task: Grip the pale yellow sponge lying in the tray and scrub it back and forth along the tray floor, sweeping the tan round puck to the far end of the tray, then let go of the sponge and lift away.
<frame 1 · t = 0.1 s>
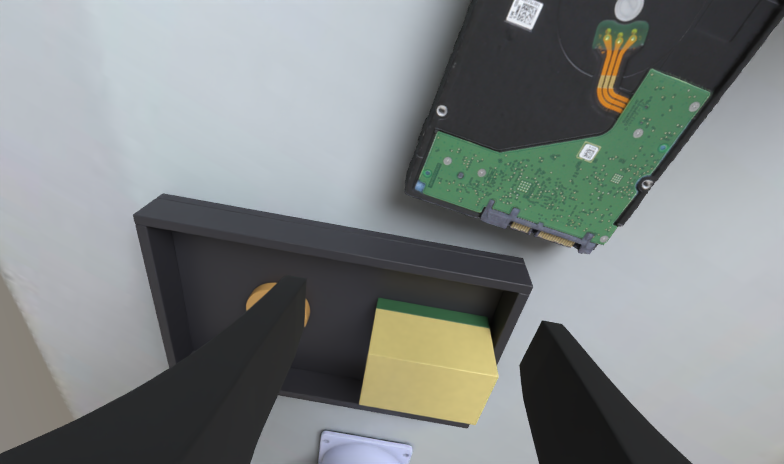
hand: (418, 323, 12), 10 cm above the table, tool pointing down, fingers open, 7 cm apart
tan round puck: (280, 305, 25), point 1 cm above the table, touching tray
tray: (334, 308, 25), on the table
sponge: (425, 331, 25), point 1 cm above the table, touching tray
disk drive: (568, 61, 17), on the table
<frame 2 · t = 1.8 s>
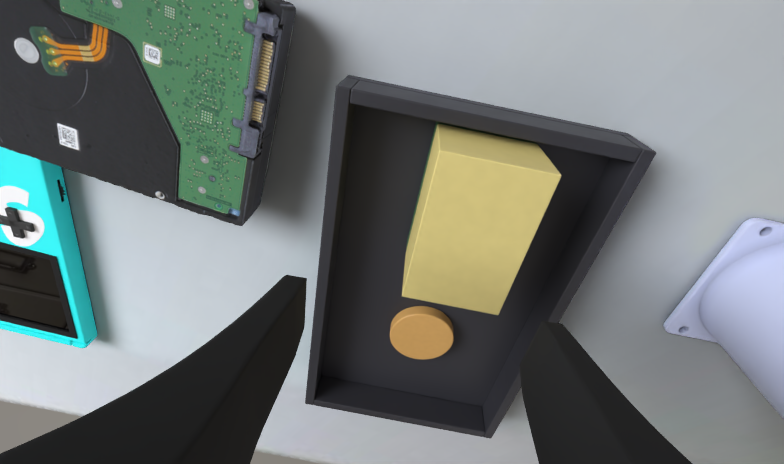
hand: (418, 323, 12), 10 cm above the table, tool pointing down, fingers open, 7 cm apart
tan round puck: (421, 328, 24), point 1 cm above the table, touching tray
tray: (434, 281, 23), on the table
sponge: (463, 194, 19), point 1 cm above the table, touching tray
disk drive: (129, 62, 18), on the table
handheld game console: (7, 234, 24), on the table
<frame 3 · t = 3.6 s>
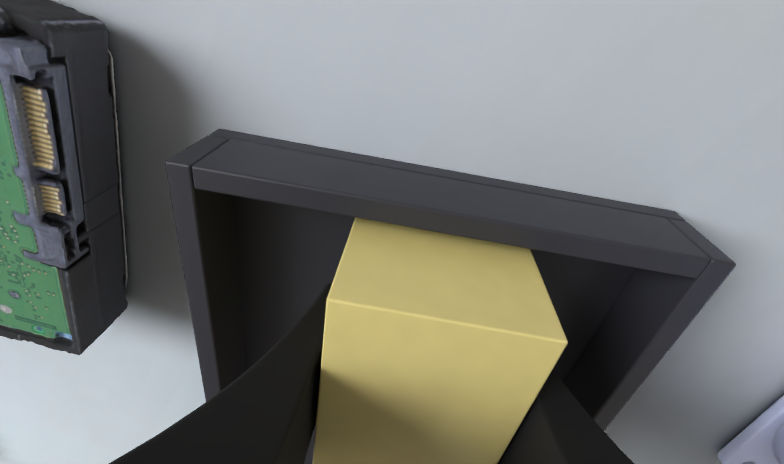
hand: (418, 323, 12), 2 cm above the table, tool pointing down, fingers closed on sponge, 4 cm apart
tray: (391, 396, 16), on the table
sponge: (418, 299, 13), point 1 cm above the table, touching gripper, tray
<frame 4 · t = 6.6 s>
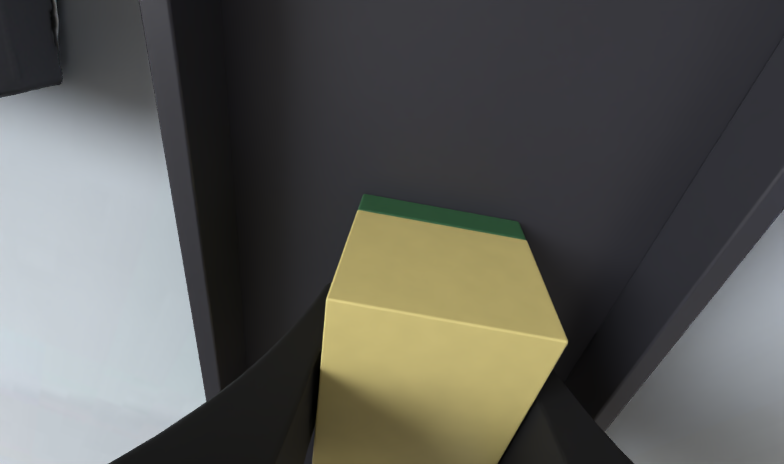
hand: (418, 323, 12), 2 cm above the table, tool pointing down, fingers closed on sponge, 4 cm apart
tray: (431, 241, 12), on the table
sponge: (417, 298, 12), point 1 cm above the table, touching gripper
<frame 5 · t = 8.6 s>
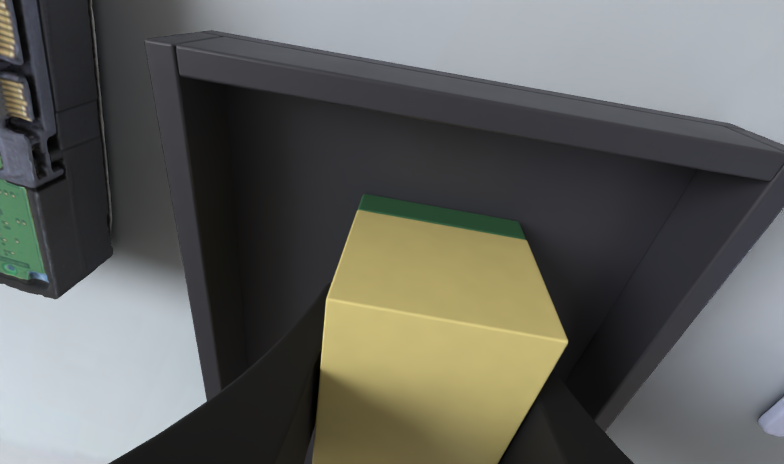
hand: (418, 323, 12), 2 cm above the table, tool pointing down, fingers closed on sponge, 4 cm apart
tray: (401, 358, 15), on the table
sponge: (417, 298, 12), point 1 cm above the table, touching gripper
when the fingers open (2 cm above the table, at t = 9.8 s): sponge stays where it is, resting on tray.
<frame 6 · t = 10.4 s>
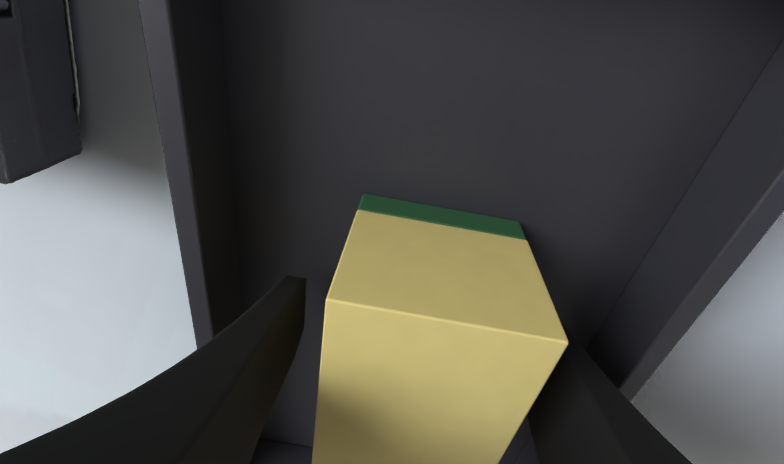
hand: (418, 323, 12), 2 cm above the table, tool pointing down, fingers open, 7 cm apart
tray: (419, 288, 13), on the table
sponge: (417, 298, 12), point 1 cm above the table, touching tray
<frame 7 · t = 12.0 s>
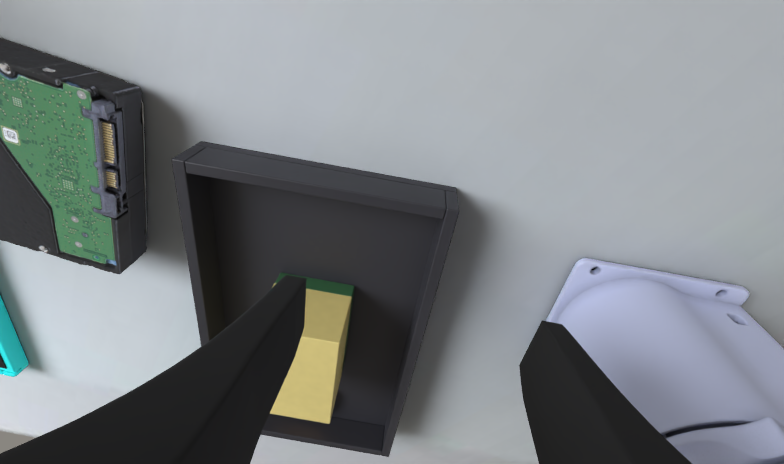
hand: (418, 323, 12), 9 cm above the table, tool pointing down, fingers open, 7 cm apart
tray: (317, 314, 25), on the table
sponge: (314, 320, 24), point 1 cm above the table, touching tray
disk drive: (12, 131, 20), on the table
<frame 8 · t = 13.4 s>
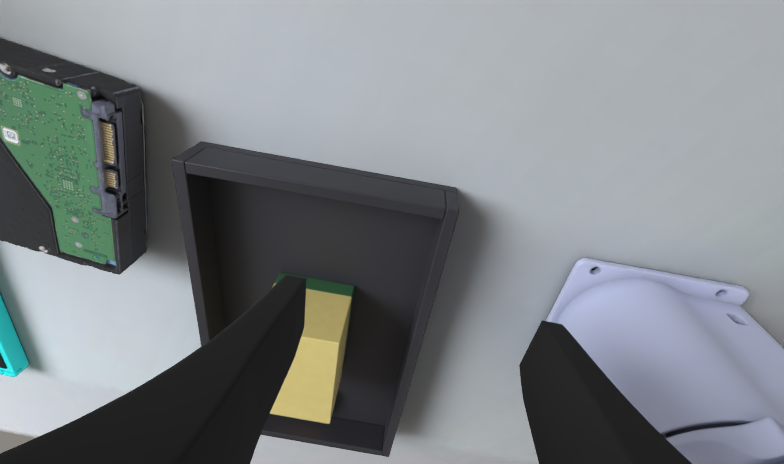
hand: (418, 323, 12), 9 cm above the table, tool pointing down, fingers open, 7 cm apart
tray: (317, 314, 25), on the table
sponge: (314, 320, 24), point 1 cm above the table, touching tray
disk drive: (12, 132, 20), on the table
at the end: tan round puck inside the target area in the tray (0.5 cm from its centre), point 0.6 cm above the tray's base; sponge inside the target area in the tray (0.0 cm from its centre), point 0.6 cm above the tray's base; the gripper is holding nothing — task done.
